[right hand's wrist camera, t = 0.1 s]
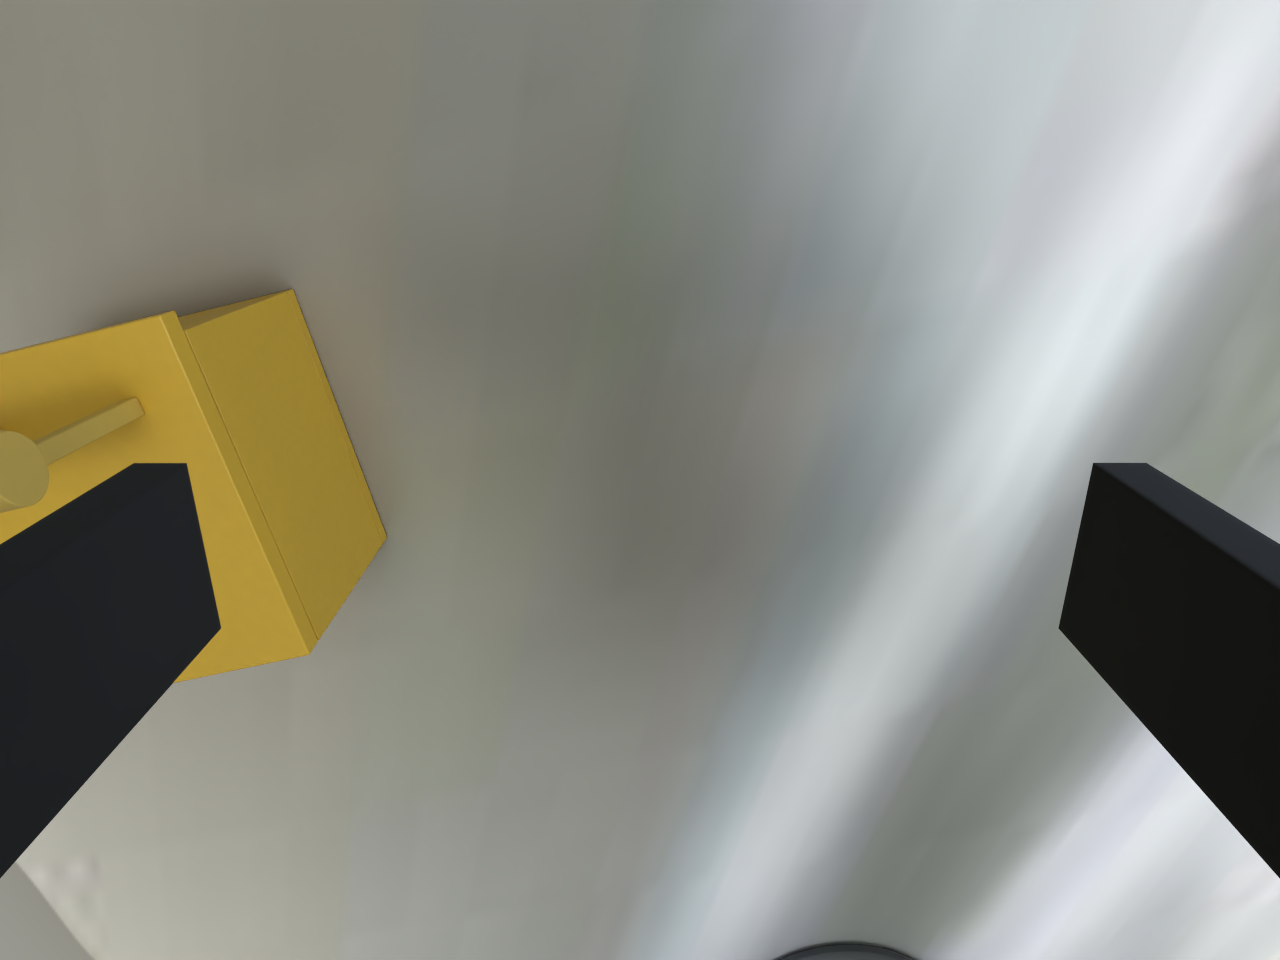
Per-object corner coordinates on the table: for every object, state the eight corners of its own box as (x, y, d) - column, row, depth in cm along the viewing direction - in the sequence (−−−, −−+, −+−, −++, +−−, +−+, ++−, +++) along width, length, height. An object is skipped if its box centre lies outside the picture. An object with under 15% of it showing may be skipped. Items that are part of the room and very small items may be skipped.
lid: (-77, 372, 30) (-337, 450, 22) (175, 309, 29) (-1, 367, 21) (98, 687, 35) (-63, 845, 27) (318, 641, 34) (220, 790, 26)
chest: (99, 336, 39) (-66, 390, 30) (293, 288, 39) (184, 329, 29) (212, 575, 44) (99, 686, 35) (387, 537, 43) (319, 640, 34)
